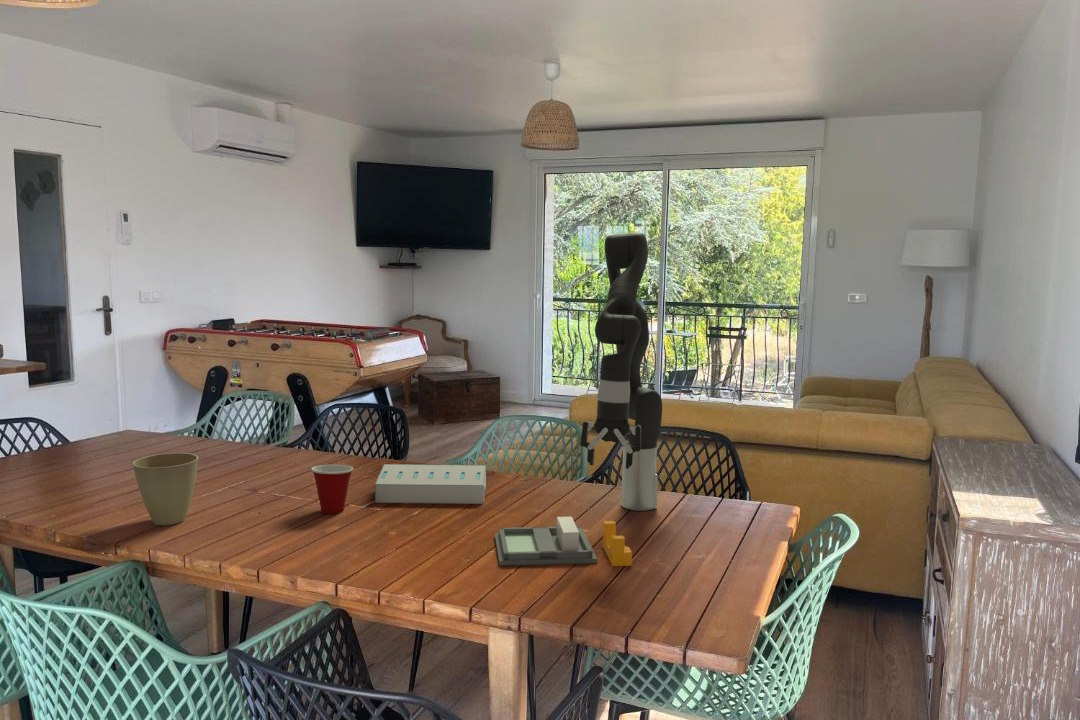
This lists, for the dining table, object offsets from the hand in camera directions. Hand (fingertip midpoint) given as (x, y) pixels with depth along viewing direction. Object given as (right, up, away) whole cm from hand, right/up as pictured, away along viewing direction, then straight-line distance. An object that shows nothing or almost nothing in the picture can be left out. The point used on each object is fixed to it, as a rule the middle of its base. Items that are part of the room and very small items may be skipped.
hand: (609, 466), depth 187 cm
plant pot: (-111, -16, +13) cm, 113 cm away
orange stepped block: (+1, -20, -5) cm, 21 cm away
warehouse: (-47, -14, +38) cm, 62 cm away
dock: (-16, -19, -2) cm, 25 cm away
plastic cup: (-72, -15, +23) cm, 77 cm away
